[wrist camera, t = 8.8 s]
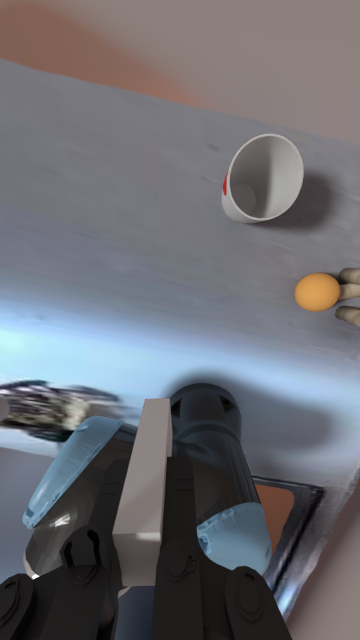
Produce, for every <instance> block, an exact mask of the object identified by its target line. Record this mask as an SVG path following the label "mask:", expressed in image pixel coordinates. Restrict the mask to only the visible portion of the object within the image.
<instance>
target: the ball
mask: <svg viewBox="0 0 360 640" xmlns="http://www.w3.org/2000/svg"><path fill="white" fill-rule="evenodd" d="M339 295H340V286H339V284H338V282H337V281H336V280H335V279H334V278H333V277H332V276H330V275H328V274H324V273H314V274H310V275H307V276H306V277H304V278H303V279H301V280H300V281H299V283H298V284H297V286H296V288H295V299H296V301H297V303H298V304H299V305H300V306H301V307H302V308H304V309H306V310H308V311H314V312H317V311H323V310H326V309H328V308H330V307H332V306H333V305H334V304H335V303H336V302H337V300H338V298H339Z"/></svg>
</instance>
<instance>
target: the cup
mask: <svg viewBox="0 0 360 640" xmlns="http://www.w3.org/2000/svg"><path fill="white" fill-rule="evenodd" d="M302 182H303V163H302V159H301V156H300V153H299V151H298V150H297V148H296V147H295V145H294V144H293V143H292V142H291V141H289V140H288V139H287V138H285V137H283V136H280V135H277V134H263V135H259V136H256V137H254V138H252V139H251V140H249V141H248V142H246V143H245V144H244V145H243V146H242V147H241V148H240V149H239V151H238V152H237V153H236V155H235V157H234V158H233V160H232V163H231V165H230V168H229V170H228V173H227V175H226V177H225V180H224V184H223V191H222V206H223V209H224V211H225V213H226V214H227V216H228V217H229V218H231V219H232V220H234V221H236V222H239V223H257V222H261V221H265V220H269V219H272V218H275V217H277V216H279V215H281V214H282V213H284V212H285V211H286V210H287V209H288V208H289V207H290V206H291V205H292V204H293V203H294V201H295V200H296V198H297V196H298V194H299V192H300V189H301V186H302Z"/></svg>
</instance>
